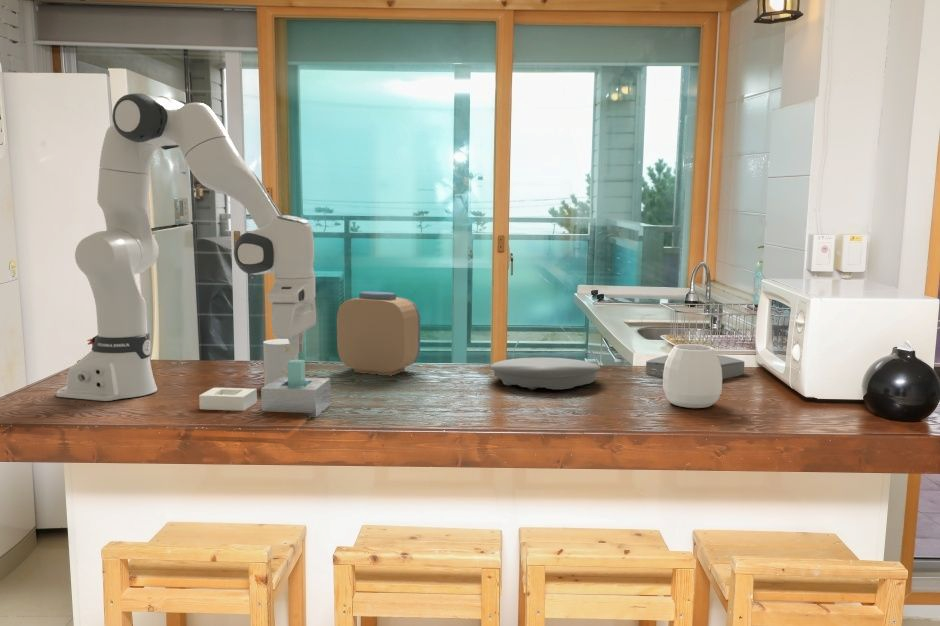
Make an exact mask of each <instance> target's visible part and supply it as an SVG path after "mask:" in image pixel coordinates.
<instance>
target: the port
mask: <svg viewBox="0 0 940 626" xmlns="http://www.w3.org/2000/svg"><path fill="white" fill-rule="evenodd" d="M331 380H332V379H331V378H329V377H328V378H327V377H326V378H325V377H305V382H306V386H288V377H279V378H277V379H275V380H274V381H272V382H271V383H269V384H267V385H266V386H265V385H264V386H263V387H261V388H260V390H261V391H260V393H261V394H260V395H261V398H260V399H261V412H269V413H270V412H271V413H272V412H273V413H274V412H276V413H305V414H308V415H306V418H317V417H318V416H319V415H320V414H321V413H323V412H324V411H325V410H326V409H327V408H329V406H330V405H332V388H331V385H332V384H331V383H332V382H331ZM322 411H323V412H322Z"/></svg>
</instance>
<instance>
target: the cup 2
mask: <svg viewBox="0 0 940 626" xmlns="http://www.w3.org/2000/svg"><path fill="white" fill-rule="evenodd" d="M667 355H668V358H667V360H666V362H665V366H664V373H663V378H662V388H663V389H662V390H663V393H664V394H665V398H666V399H667V400H668V401H669V402H670V403H671V404H672V405H675V406H678V407H683V408H688V409H700V408H701V409H703V408H704V409H705V408H709V407H711V406H712V405H714V404H715V403H716V402H718V400H719V398H720V396H721V394H722V391H723V389H722V388H723V379H722V368H721V365H720V362H719V359H718V357H717V355H718V354H717V353H716V351H715V349H714V347H712V346H709V345H704V344H697V343H696V344H693V343H691V344H690V343H688V344H687V343H685V344H682V343H681V344H677V345H674V346H673V347H672V349H671V350H670V352H669V354H667Z"/></svg>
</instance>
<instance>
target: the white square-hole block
mask: <svg viewBox="0 0 940 626" xmlns="http://www.w3.org/2000/svg"><path fill="white" fill-rule="evenodd" d="M257 396H258V392H257V388H245V387H243V388H241V387H212V388H210V389H208V390H207V391H205V392H203V393H201V394H199V395H198V398H199V399H198V400H199V410H209V411H210V410H212V411H213V410H218V411H242V412H243V411H246V410H247V409H249V408H250V407H252V406H253V405H254V404H256V403H257V402H258V397H257Z"/></svg>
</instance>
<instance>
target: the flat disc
mask: <svg viewBox="0 0 940 626" xmlns="http://www.w3.org/2000/svg"><path fill="white" fill-rule="evenodd" d="M490 368H491V370H492V371H493V374H494V376H495V377H496V378H497V379H499V380H500V381H502V383H503V385H505V386H508V387H509V386H512V385H514V386H519V387H521V388H527V389H529V390H530V391H534V390H536V389H538V388H542V389H543V388H546V389H551V390H565V389H566V390H567V389H568V390H569V389H573V388H574V387H579V386H584V385H589V384H591V383H593V382H594V381H595V380H596V378H597V374H598V372H599V371H600V370H601V367H600V365H598V364H596V363H594V362H590V361H587V360H581V359H573V358H564V357H563V358H562V357H518V358H510V359H504V360H500V361H497V362H494V363H492V364H491V365H490Z"/></svg>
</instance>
